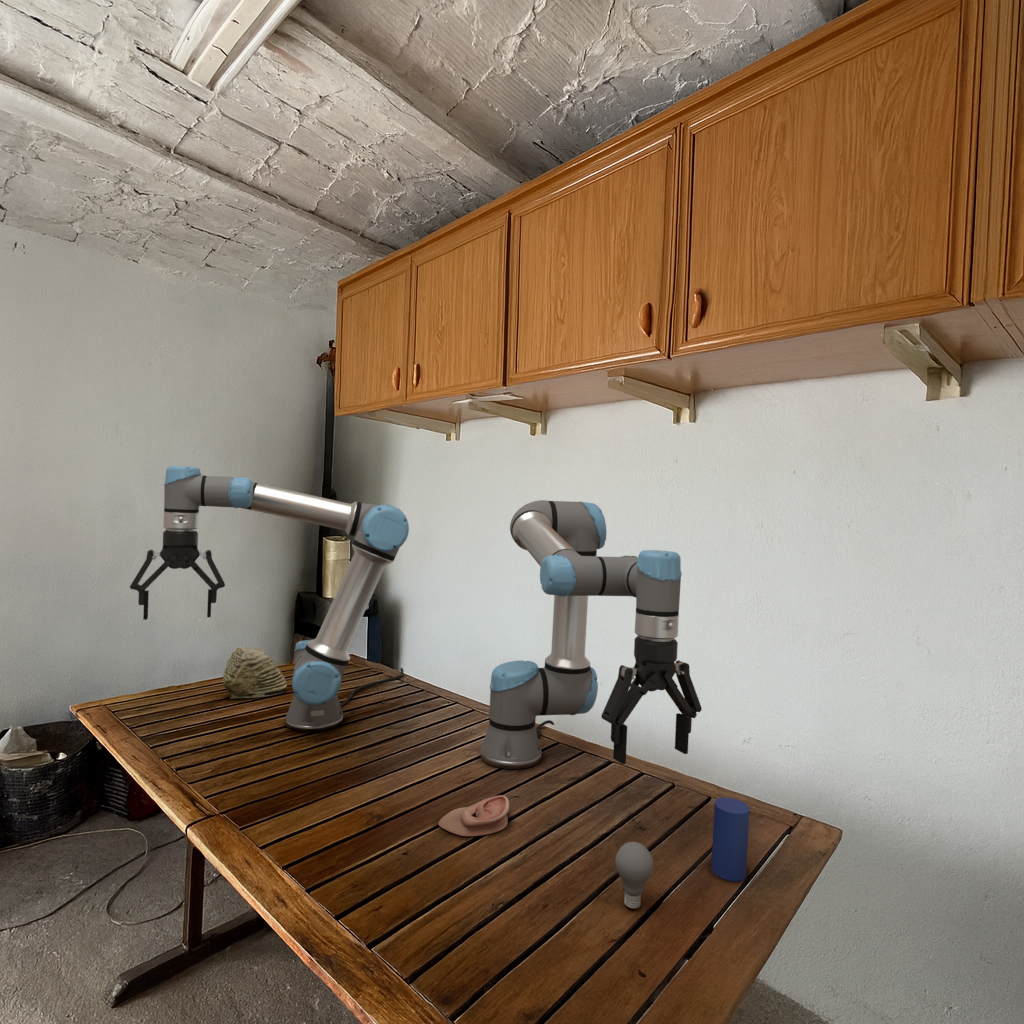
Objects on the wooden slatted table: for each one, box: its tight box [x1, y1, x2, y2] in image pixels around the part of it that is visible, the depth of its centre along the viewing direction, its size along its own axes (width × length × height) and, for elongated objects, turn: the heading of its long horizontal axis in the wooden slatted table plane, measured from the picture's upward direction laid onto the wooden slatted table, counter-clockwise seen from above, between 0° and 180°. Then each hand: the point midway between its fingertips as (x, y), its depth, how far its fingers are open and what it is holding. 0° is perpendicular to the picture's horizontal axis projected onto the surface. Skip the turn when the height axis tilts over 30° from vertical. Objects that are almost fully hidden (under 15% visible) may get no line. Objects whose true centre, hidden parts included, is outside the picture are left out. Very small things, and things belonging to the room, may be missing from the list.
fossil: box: [222, 646, 288, 699], centre depth 198 cm, size 9×18×15 cm, turn 132°
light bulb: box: [614, 841, 654, 909], centre depth 101 cm, size 6×6×10 cm
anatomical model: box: [437, 794, 510, 837], centre depth 126 cm, size 13×4×12 cm
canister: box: [710, 796, 751, 882], centre depth 113 cm, size 6×6×12 cm
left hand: (177, 617), depth 154 cm, fingers open, 13 cm apart
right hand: (651, 756), depth 113 cm, fingers open, 13 cm apart
